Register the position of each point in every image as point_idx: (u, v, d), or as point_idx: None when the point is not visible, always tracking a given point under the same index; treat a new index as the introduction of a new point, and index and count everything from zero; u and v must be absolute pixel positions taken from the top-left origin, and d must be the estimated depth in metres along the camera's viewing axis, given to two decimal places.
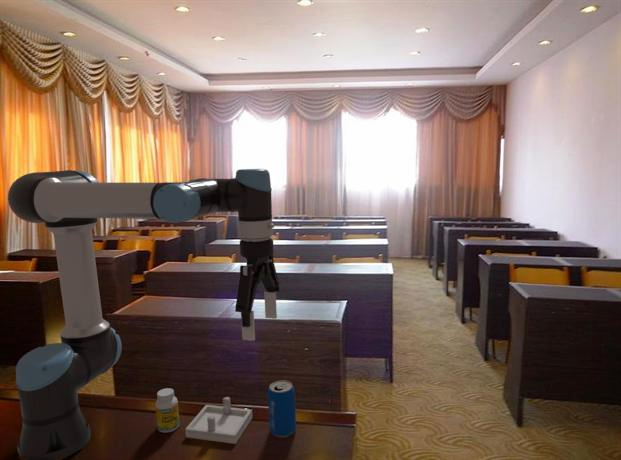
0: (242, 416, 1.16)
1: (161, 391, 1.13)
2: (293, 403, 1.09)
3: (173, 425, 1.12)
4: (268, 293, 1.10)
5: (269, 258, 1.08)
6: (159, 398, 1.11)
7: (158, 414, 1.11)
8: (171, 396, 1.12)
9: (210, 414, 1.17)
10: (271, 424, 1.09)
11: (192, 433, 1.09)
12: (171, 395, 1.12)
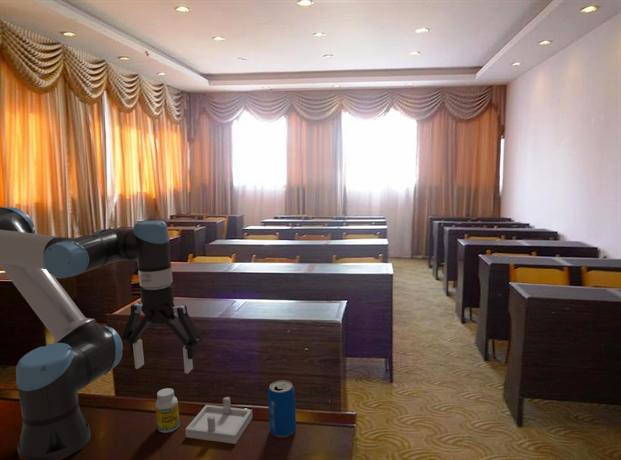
0: (242, 416, 1.16)
1: (161, 391, 1.13)
2: (293, 403, 1.09)
3: (173, 425, 1.12)
4: None
5: None
6: (159, 398, 1.11)
7: (158, 414, 1.11)
8: (171, 396, 1.12)
9: (210, 414, 1.17)
10: (271, 424, 1.09)
11: (192, 433, 1.09)
12: (171, 395, 1.12)
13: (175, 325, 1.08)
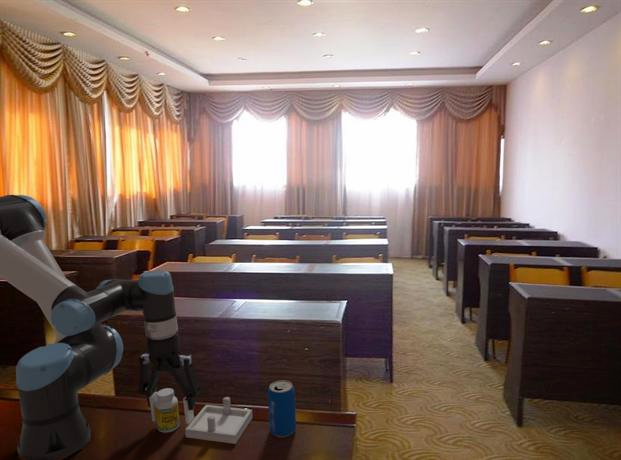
0: (242, 416, 1.16)
1: (161, 391, 1.13)
2: (293, 403, 1.09)
3: (173, 425, 1.12)
4: None
5: None
6: (159, 398, 1.11)
7: (158, 414, 1.11)
8: (171, 396, 1.12)
9: (210, 414, 1.17)
10: (271, 424, 1.09)
11: (192, 433, 1.09)
12: (171, 395, 1.12)
13: (179, 375, 1.10)
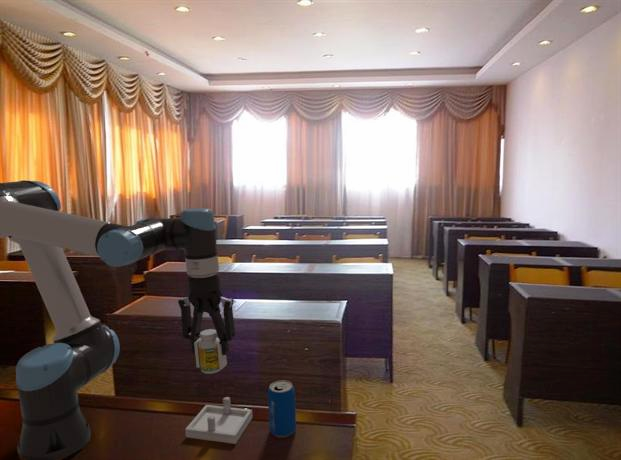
0: (242, 416, 1.16)
1: (204, 331, 1.10)
2: (293, 403, 1.09)
3: (217, 365, 1.09)
4: None
5: (225, 303, 1.06)
6: (202, 337, 1.08)
7: (202, 354, 1.08)
8: (215, 336, 1.09)
9: (210, 414, 1.17)
10: (271, 424, 1.09)
11: (192, 433, 1.09)
12: (214, 335, 1.09)
13: (217, 318, 1.07)
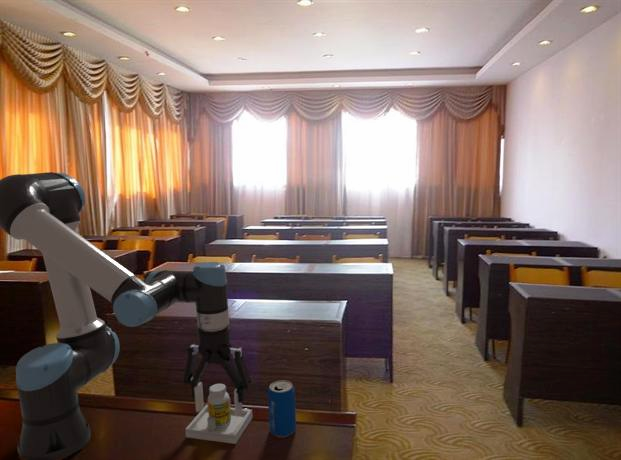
0: (242, 416, 1.16)
1: (213, 386, 1.12)
2: (293, 403, 1.09)
3: (226, 420, 1.11)
4: None
5: None
6: (212, 393, 1.10)
7: (211, 410, 1.11)
8: (224, 391, 1.11)
9: None
10: (271, 424, 1.09)
11: (192, 433, 1.09)
12: (224, 390, 1.11)
13: (230, 368, 1.09)
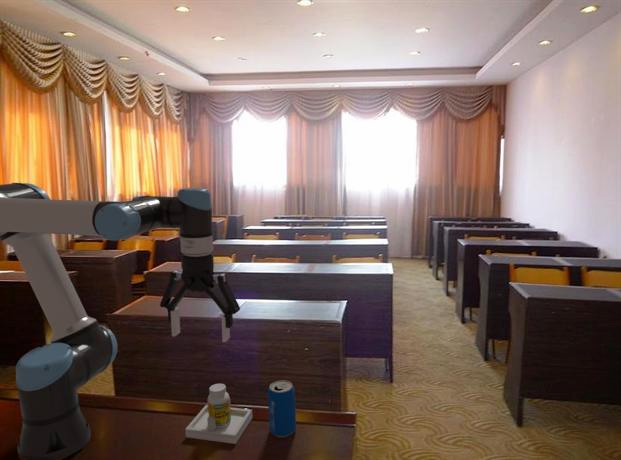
0: (242, 416, 1.16)
1: (213, 386, 1.12)
2: (293, 403, 1.09)
3: (226, 420, 1.11)
4: None
5: None
6: (212, 393, 1.10)
7: (211, 409, 1.11)
8: (224, 391, 1.11)
9: None
10: (271, 424, 1.09)
11: (192, 433, 1.09)
12: (224, 390, 1.11)
13: (215, 293, 1.08)
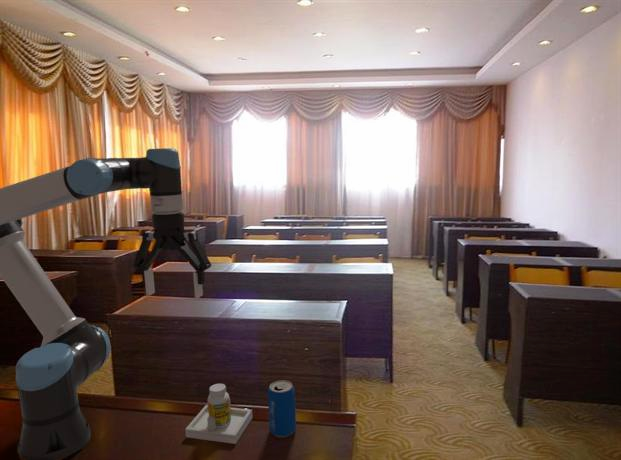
0: (242, 416, 1.16)
1: (213, 386, 1.12)
2: (293, 403, 1.09)
3: (226, 420, 1.11)
4: None
5: None
6: (212, 393, 1.10)
7: (211, 409, 1.11)
8: (224, 391, 1.11)
9: None
10: (271, 424, 1.09)
11: (192, 433, 1.09)
12: (224, 390, 1.11)
13: (186, 251, 1.11)
